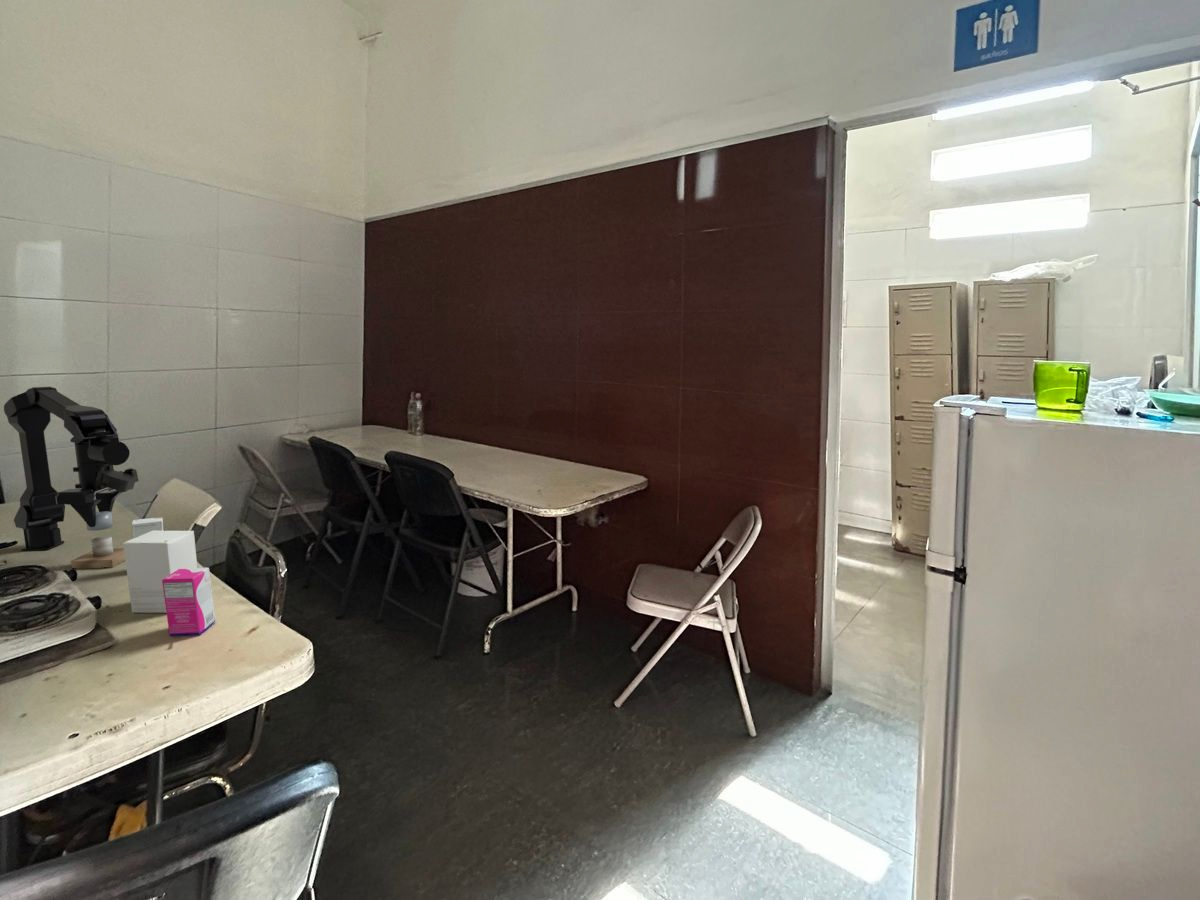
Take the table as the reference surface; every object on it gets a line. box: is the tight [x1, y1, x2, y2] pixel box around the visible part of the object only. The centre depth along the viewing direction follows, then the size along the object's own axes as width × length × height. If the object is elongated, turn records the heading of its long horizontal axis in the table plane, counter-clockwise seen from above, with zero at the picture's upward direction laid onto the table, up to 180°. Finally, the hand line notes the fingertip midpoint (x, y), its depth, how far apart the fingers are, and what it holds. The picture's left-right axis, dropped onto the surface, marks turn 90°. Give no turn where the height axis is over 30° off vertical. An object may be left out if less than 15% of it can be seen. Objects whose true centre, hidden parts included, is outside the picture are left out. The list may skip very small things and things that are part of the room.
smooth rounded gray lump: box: [85, 511, 114, 532], centre depth 154 cm, size 5×5×4 cm
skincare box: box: [131, 516, 164, 539], centre depth 151 cm, size 6×4×12 cm
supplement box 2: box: [162, 567, 216, 637], centre depth 119 cm, size 6×6×12 cm
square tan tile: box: [70, 535, 126, 570], centre depth 155 cm, size 9×9×6 cm
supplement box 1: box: [122, 530, 198, 614], centre depth 130 cm, size 9×9×15 cm
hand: (99, 523), depth 154 cm, fingers closed on smooth rounded gray lump, 5 cm apart
